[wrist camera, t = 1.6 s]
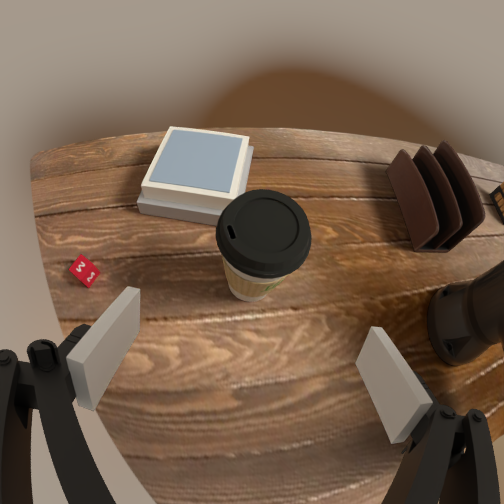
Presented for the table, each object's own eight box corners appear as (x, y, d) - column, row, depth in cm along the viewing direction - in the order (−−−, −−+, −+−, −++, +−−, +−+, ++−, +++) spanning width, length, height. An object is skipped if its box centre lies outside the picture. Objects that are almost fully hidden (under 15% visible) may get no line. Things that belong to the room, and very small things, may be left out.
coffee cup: (294, 302, 40) (332, 255, 27) (227, 323, 38) (233, 283, 25) (269, 243, 44) (292, 177, 31) (206, 259, 42) (204, 194, 29)
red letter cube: (88, 288, 37) (80, 280, 35) (76, 277, 38) (68, 269, 35) (100, 272, 39) (93, 264, 36) (88, 262, 39) (80, 253, 36)
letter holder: (418, 177, 58) (448, 135, 45) (447, 253, 49) (491, 216, 36) (384, 171, 56) (414, 124, 44) (413, 253, 47) (459, 210, 35)
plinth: (251, 158, 52) (256, 133, 47) (237, 229, 45) (241, 205, 39) (169, 146, 51) (166, 121, 46) (140, 213, 44) (132, 189, 38)
